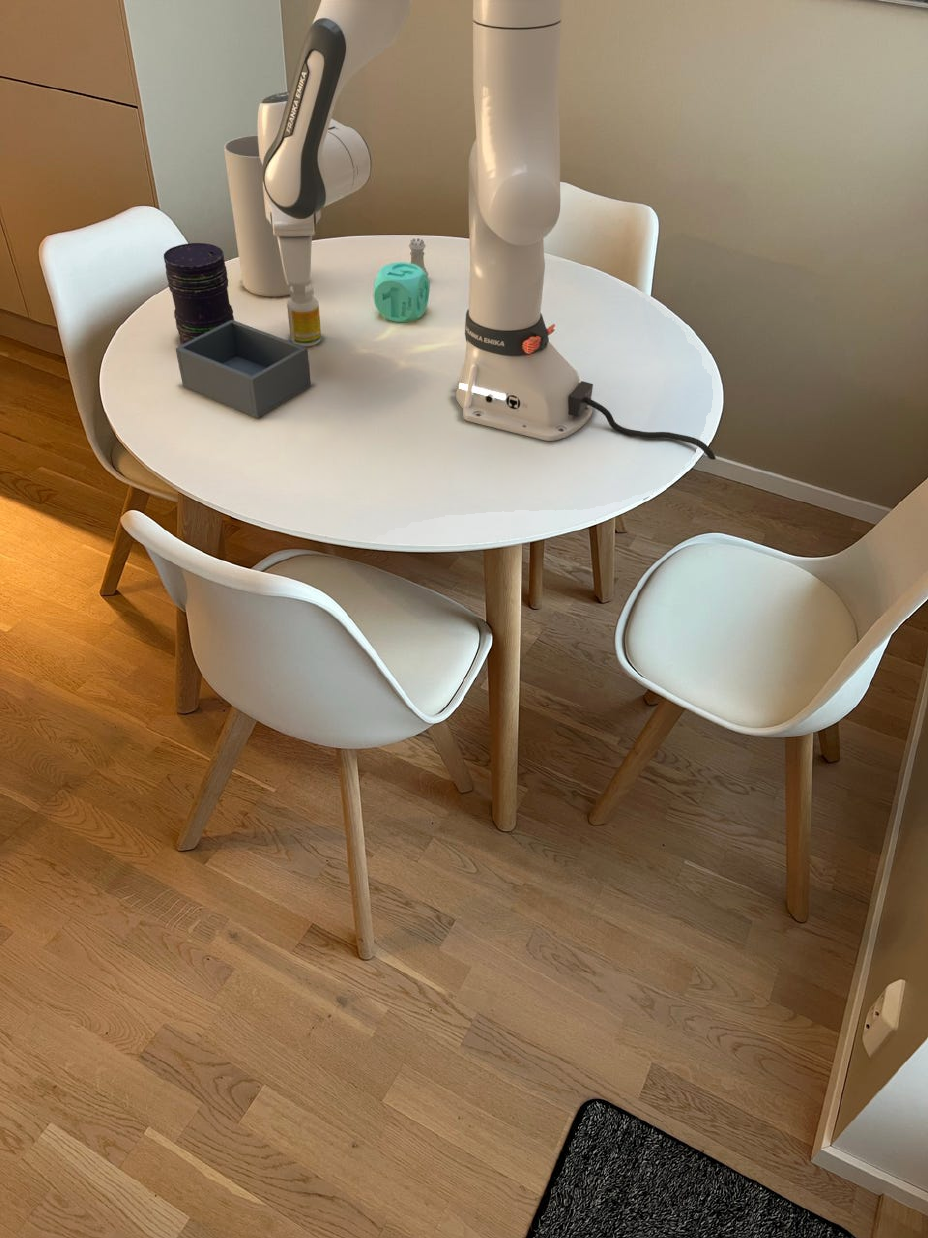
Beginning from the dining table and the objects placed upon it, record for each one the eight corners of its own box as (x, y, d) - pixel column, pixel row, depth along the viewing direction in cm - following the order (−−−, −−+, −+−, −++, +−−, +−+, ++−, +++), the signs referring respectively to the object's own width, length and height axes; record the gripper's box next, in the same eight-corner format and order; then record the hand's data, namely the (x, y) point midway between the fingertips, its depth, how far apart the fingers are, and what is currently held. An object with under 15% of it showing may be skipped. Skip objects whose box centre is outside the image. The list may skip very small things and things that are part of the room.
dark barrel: (180, 354, 159) (163, 268, 148) (177, 328, 166) (161, 244, 155) (239, 348, 161) (226, 263, 151) (234, 323, 168) (221, 240, 157)
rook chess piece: (402, 278, 184) (402, 237, 178) (423, 275, 185) (423, 234, 180) (411, 287, 181) (410, 246, 175) (432, 284, 182) (432, 243, 177)
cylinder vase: (230, 281, 180) (210, 143, 163) (284, 265, 187) (270, 130, 170) (266, 303, 174) (248, 161, 157) (320, 286, 180) (309, 148, 163)
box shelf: (311, 386, 152) (307, 347, 148) (258, 418, 145) (252, 379, 140) (237, 356, 159) (231, 319, 154) (182, 386, 151) (174, 347, 146)
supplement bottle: (285, 338, 164) (279, 285, 157) (311, 330, 167) (306, 278, 160) (301, 350, 161) (296, 296, 154) (327, 341, 164) (323, 289, 157)
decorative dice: (374, 318, 171) (372, 275, 165) (390, 300, 176) (389, 258, 171) (414, 325, 169) (414, 283, 164) (429, 307, 175) (430, 265, 169)
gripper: (272, 183, 155) (280, 264, 164) (272, 229, 140) (281, 316, 150) (311, 182, 156) (316, 264, 165) (314, 229, 141) (320, 315, 151)
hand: (299, 289), depth 157 cm, fingers open, 8 cm apart
